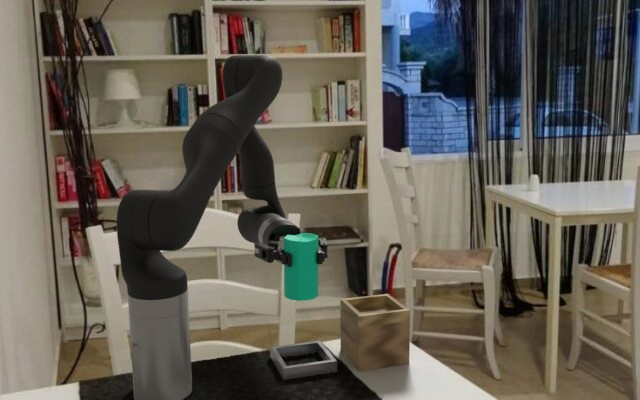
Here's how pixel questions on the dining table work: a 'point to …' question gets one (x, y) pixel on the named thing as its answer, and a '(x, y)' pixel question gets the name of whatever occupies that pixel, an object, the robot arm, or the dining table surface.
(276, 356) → the grey square tray
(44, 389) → the dining table surface
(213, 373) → the dining table surface
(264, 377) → the dining table surface
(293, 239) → the candle
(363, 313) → the wooden storage box
